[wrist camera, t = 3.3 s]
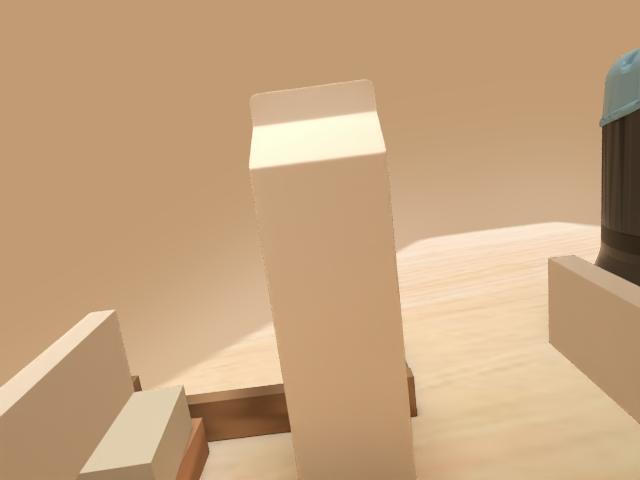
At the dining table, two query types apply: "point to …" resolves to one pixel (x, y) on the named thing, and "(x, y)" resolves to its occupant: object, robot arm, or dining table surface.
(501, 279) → the dining table surface
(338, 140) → the milk
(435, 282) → the dining table surface
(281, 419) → the rack
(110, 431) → the offcut top
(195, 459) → the offcut low
